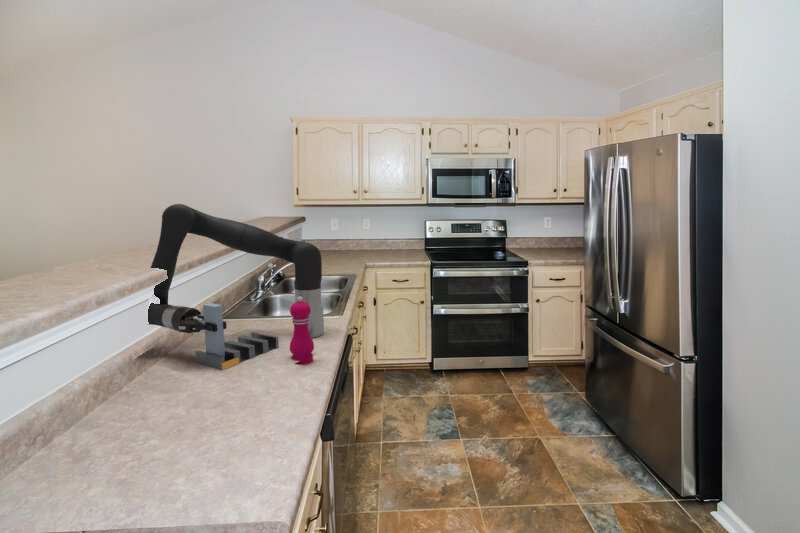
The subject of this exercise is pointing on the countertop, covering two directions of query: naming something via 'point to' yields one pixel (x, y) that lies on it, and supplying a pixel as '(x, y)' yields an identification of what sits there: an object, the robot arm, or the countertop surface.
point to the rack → (239, 351)
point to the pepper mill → (301, 333)
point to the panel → (216, 339)
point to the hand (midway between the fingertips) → (220, 326)
